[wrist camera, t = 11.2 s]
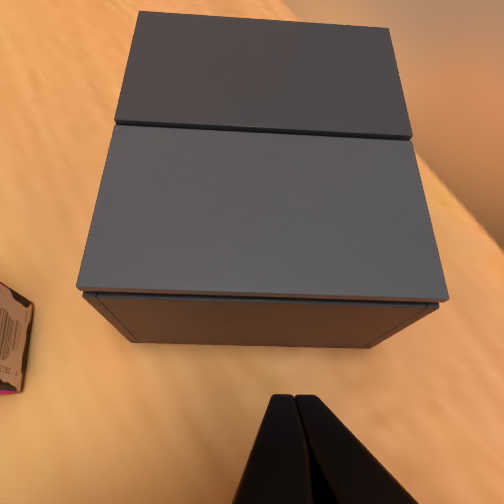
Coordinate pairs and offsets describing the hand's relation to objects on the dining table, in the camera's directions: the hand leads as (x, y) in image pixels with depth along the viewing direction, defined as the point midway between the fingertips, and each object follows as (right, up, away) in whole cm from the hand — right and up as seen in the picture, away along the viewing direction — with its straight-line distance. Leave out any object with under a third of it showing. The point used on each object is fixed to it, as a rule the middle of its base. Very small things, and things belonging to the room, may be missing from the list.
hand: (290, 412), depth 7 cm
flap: (0, +5, +8) cm, 9 cm away
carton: (-1, +5, +16) cm, 17 cm away
